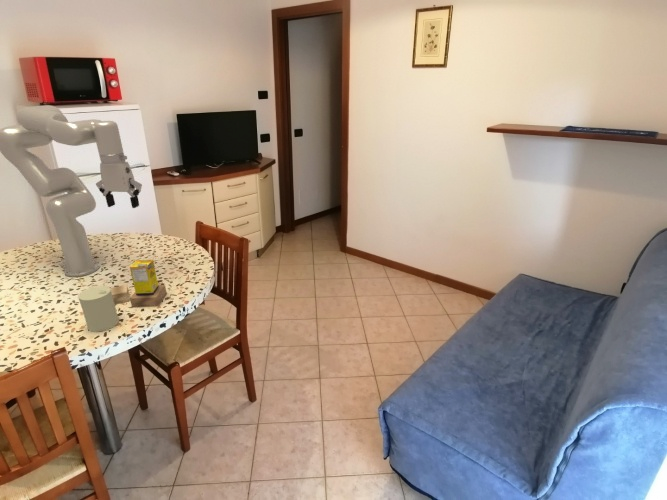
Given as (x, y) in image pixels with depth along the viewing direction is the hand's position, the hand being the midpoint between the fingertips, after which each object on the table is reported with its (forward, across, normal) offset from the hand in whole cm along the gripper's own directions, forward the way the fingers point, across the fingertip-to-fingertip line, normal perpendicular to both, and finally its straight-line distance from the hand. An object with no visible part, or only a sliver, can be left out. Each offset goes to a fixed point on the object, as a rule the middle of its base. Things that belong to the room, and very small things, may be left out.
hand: (123, 206), depth 147 cm
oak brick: (+31, -1, +14) cm, 34 cm away
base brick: (+31, -12, +13) cm, 36 cm away
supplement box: (+27, -12, +13) cm, 32 cm away
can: (+31, -6, +29) cm, 42 cm away
